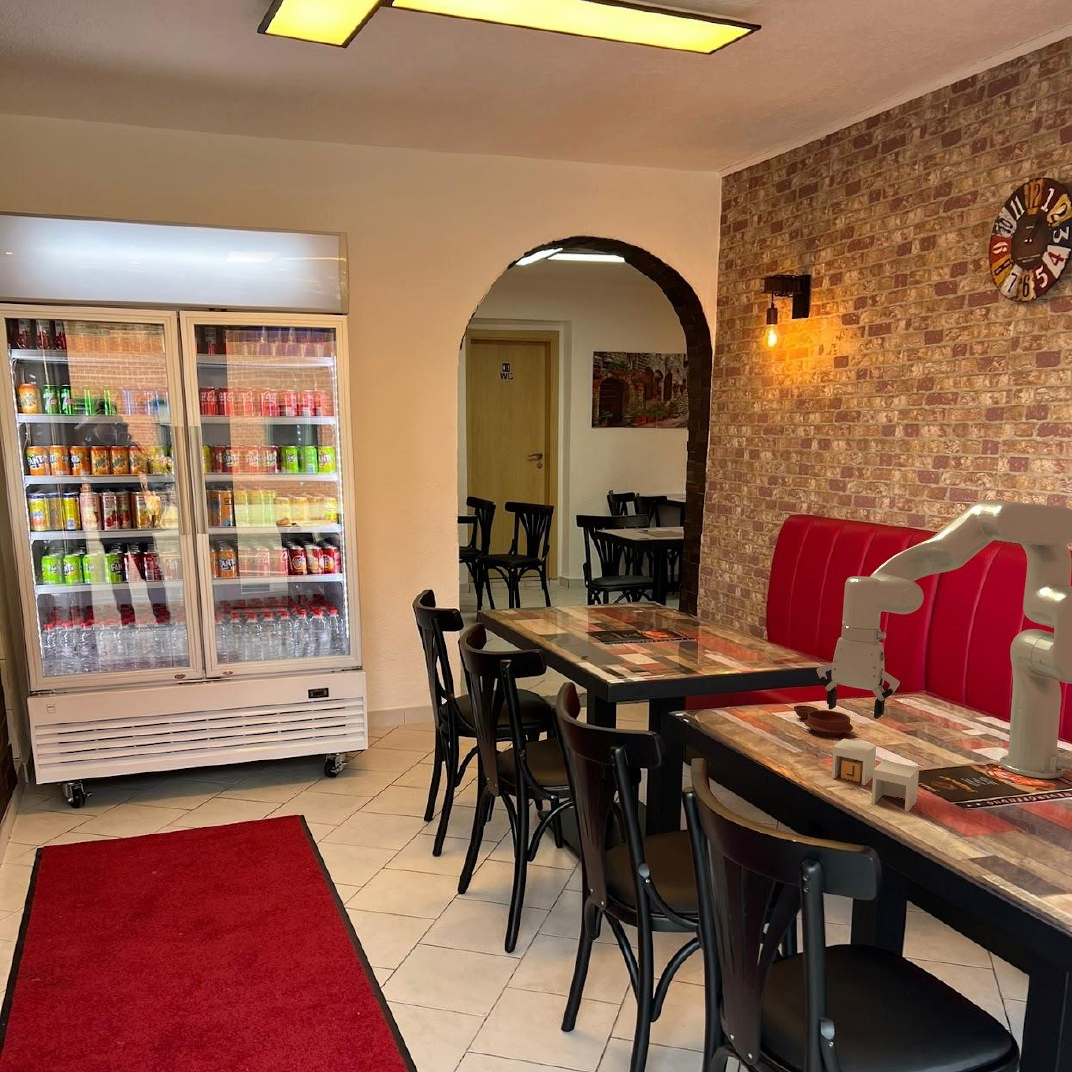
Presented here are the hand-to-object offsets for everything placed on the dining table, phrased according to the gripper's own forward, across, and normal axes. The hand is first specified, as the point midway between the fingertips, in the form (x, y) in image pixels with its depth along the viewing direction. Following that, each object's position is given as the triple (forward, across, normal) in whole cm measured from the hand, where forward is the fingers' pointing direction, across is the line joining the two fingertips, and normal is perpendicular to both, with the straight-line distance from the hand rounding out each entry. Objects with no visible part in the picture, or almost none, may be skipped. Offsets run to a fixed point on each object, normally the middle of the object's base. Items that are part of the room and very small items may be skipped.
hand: (854, 712), depth 193 cm
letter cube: (+14, 0, 0) cm, 14 cm away
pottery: (+14, +18, -32) cm, 39 cm away
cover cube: (+14, 0, 0) cm, 14 cm away
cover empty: (+14, -12, +8) cm, 20 cm away
